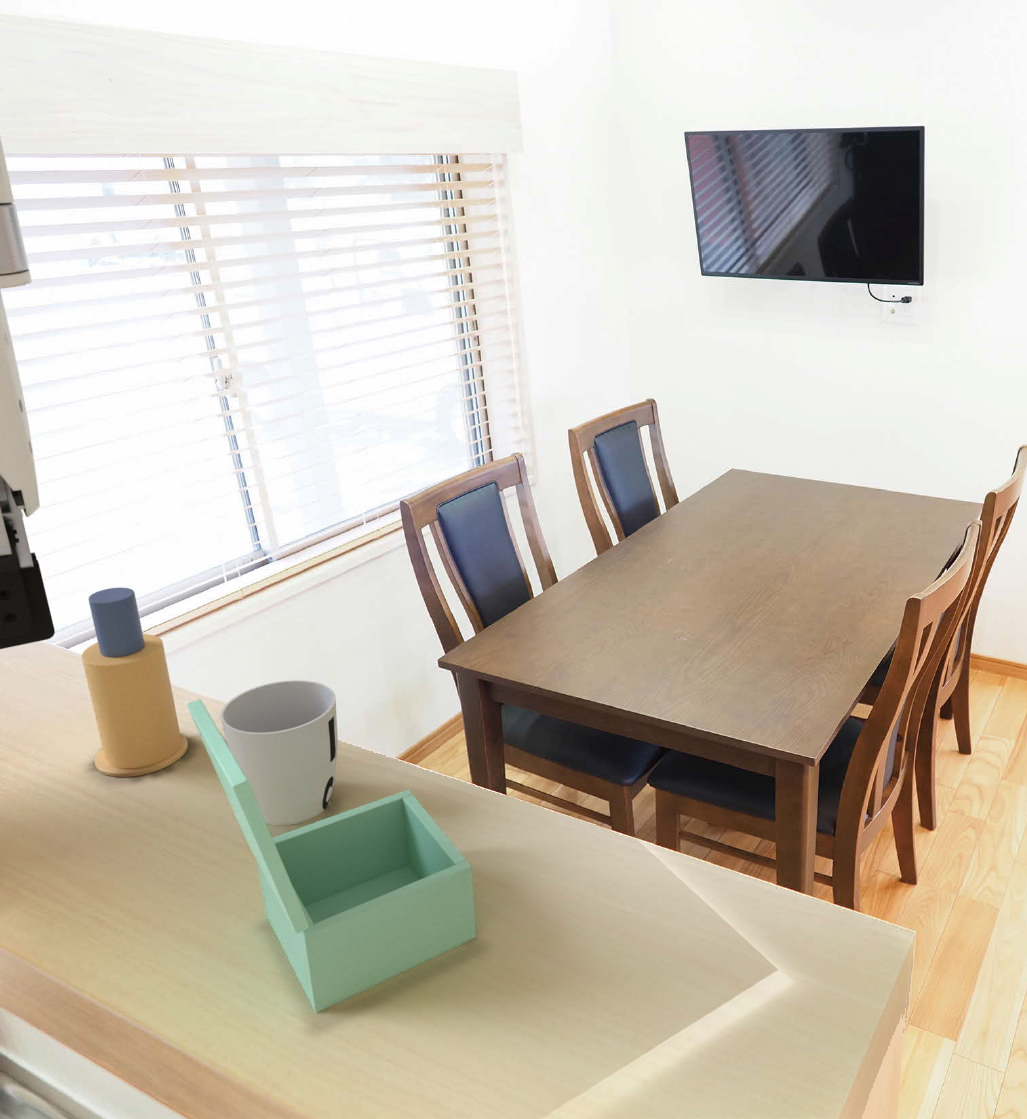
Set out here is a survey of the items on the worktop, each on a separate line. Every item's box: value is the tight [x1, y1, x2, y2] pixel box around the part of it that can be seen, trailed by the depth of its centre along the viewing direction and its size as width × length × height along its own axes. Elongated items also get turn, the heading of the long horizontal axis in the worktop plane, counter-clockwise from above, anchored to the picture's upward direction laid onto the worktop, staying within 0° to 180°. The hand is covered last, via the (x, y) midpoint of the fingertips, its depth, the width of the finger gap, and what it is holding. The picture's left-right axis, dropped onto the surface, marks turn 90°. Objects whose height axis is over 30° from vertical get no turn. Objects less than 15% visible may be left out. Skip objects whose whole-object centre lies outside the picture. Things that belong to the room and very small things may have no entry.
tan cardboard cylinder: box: [81, 587, 182, 768], centre depth 81 cm, size 6×6×15 cm
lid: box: [186, 698, 309, 934], centre depth 57 cm, size 11×11×1 cm
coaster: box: [94, 732, 189, 778], centre depth 84 cm, size 7×7×1 cm
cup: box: [219, 679, 339, 826], centre depth 76 cm, size 8×8×10 cm
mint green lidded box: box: [256, 789, 477, 1014], centre depth 64 cm, size 11×11×7 cm
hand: (14, 638), depth 46 cm, fingers closed
